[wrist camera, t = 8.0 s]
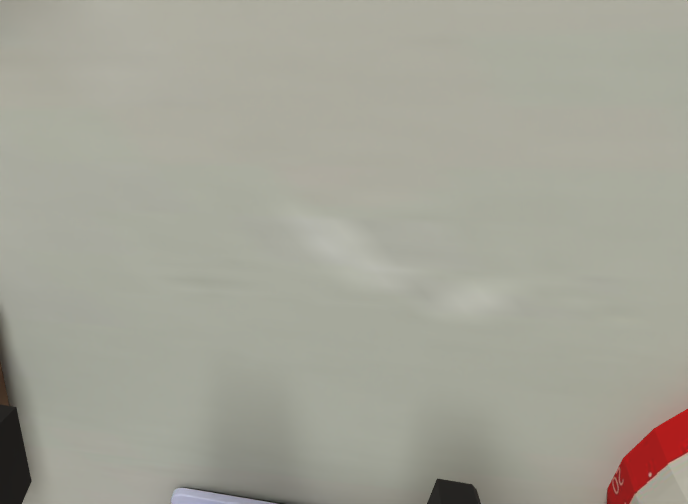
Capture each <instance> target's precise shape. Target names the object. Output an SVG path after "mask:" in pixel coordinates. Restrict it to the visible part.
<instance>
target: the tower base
mask: <svg viewBox="0 0 688 504" xmlns="http://www.w3.org/2000/svg"><path fill="white" fill-rule="evenodd" d="M0 404H1V405H6V406H9V401H8V396H7V391H6V387H5V382H4V377H3V372H2V367H1V362H0Z"/></svg>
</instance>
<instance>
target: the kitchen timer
mask: <svg viewBox="0 0 688 504" xmlns="http://www.w3.org/2000/svg"><path fill="white" fill-rule="evenodd" d="M607 504H688V409H686V410H685V411H683V412H681V413H680V414H678V415H676V416H675V417H673V418H671V419H669V420H668V421H666V422H664V423H663V424H661V425H659V426H658V427H656V428H654V429H653V430H652V431H651V432H650V433H649V434H648V435H647V436H646V437H645V438H644V439H643V440H642V441H641V442H640V443H639V444H638V445H636V446H635V447H634V448H633V449H632V450H631V451H630V452H629V453H628V454H627V455H626V456H625V457H624V458H623V460H622V462H621V464H620V465H619V467H618V469H617V471H616V473H615V475H614V477H613V479H612V481H611V483H610V485H609V487H608V493H607Z"/></svg>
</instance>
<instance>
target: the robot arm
mask: <svg viewBox="0 0 688 504" xmlns="http://www.w3.org/2000/svg"><path fill="white" fill-rule="evenodd" d="M30 483H31V477H30V472H29V467H28V462H27V457H26V452H25V448H24V443H23V438H22V433H21V428H20V423H19V419H18V414H17V409H16V407H12V406H6V405H1V404H0V504H22V502H23V500H24V497H25V495H26V493H27V490H28V488H29V486H30ZM171 504H278V503H272V502H266V501H260V500H254V499H248V498H242V497H236V496H230V495H224V494H218V493H212V492H206V491H200V490H194V489H188V488H177V489H175V490H174V492H173V495H172V498H171ZM427 504H481V503H480V499H479V496H478V493H477V490H476V489H475V487H474V486H473V485H472V484H466V483H460V482H454V481H448V480H442V479H437V480H436V483H435V485H434V488H433V490H432V493H431V495H430V498H429V500H428V503H427Z"/></svg>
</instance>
